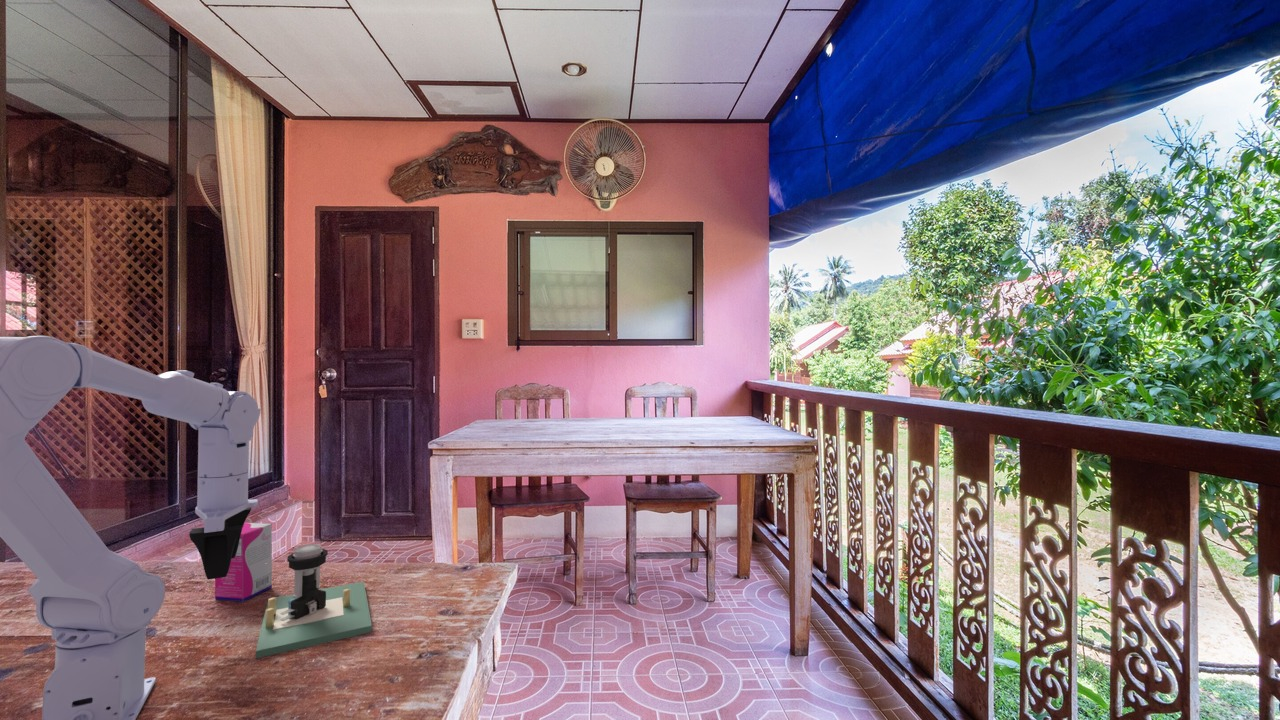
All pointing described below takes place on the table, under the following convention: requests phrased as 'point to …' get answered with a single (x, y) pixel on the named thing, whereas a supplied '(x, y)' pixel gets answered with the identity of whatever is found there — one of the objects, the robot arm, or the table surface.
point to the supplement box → (248, 565)
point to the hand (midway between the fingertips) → (222, 567)
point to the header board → (315, 621)
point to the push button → (306, 581)
